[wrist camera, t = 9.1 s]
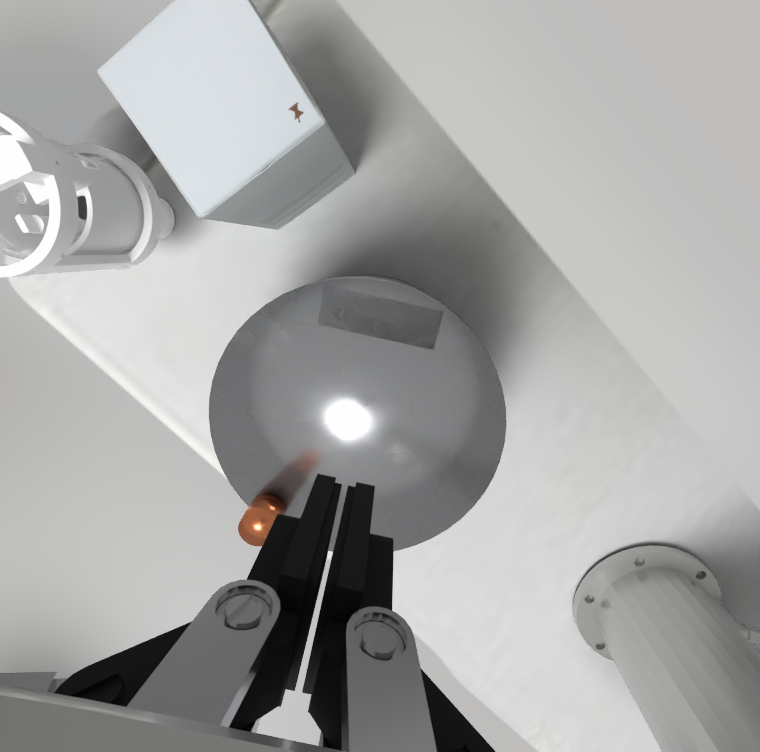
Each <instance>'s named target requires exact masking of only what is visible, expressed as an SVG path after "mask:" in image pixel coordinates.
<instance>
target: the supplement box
mask: <svg viewBox="0 0 760 752" xmlns="http://www.w3.org/2000/svg"><path fill="white" fill-rule="evenodd" d="M97 73H98V75H99V76H100V77H101V78H102V80H103V81H104V83H105V84H106V85H107V87H108V88H109V89H110V91H111V92H112V94H113V95H114V97H115V98H116V99H117V101H118V102H119V104H120V105H121V106H122V108H123V109H124V111H125V112H126V113H127V115H128V116H129V118H130V119H131V120H132V122H133V123H134V125H135V126H136V128H137V129H138V130H139V132H140V133H141V135H142V136H143V138H144V139H145V141H146V142H147V144H148V145H149V147H150V148H151V150H152V151H153V152H154V154H155V155H156V157H157V158H158V160H159V161H160V163H161V164H162V166H163V167H164V169H165V170H166V171H167V173H168V174H169V176H170V177H171V179H172V180H173V182H174V183H175V185H176V186H177V188H178V189H179V191H180V192H181V194H182V195H183V196H184V198H185V199H186V201H187V202H188V204H189V205H190V207H191V208H192V210H193V211H194V213H195V214H196V216H197V217H198V218H202V219H210V220H217V221H223V222H230V223H236V224H243V225H250V226H257V227H263V228H270V229H276V230H278V229H280V228H281V227H282V226H284V225H285V224H287V223H288V222H290V221H291V220H292V219H294V218H295V217H297V216H298V215H299V214H301V213H302V212H303V211H305V210H306V209H308V208H309V207H310V206H312V205H313V204H314V203H316V202H317V201H318V200H320V199H321V198H322V197H324V196H325V195H326V194H328V193H329V192H331V191H332V190H333V189H335V188H336V187H337V186H339V185H340V184H341V183H343V182H344V181H345V180H347V179H348V178H349V177H351V176H352V175H354V174H355V171H354V169H353V167H352V165H351V163H350V161H349V160H348V158H347V156H346V154H345V152H344V151H343V149H342V147H341V146H340V144H339V142H338V140H337V139H336V137H335V135H334V133H333V132H332V130H331V128H330V126H329V125H328V123H327V121H326V119H325V117H324V116H323V114H322V112H321V110H320V109H319V107H318V105H317V103H316V102H315V100H314V98H313V96H312V95H311V93H310V91H309V90H308V88H307V86H306V85H305V83H304V81H303V80H302V78H301V76H300V75H299V73H298V72H297V70H296V68H295V67H294V65H293V63H292V62H291V60H290V59H289V57H288V56H287V54H286V52H285V51H284V49H283V48H282V46H281V44H280V43H279V41H278V40H277V38H276V37H275V35H274V34H273V32H272V31H271V29H270V28H269V26H268V25H267V23H266V22H265V20H264V19H263V17H262V16H261V14H260V13H259V11H258V10H257V8H256V7H255V5H254V4H253V2H252V1H251V0H173V1H172V2H171V3H170V4H169V5H168V6H167V7H166V8H165V9H164V10H162V11H161V12H160V13H159V14H158V15H157V16H156V17H155V18H154V19H153V20H152V21H150V22H149V23H148V24H147V25H146V26H145V27H144V28H143V29H142V30H141V31H140V32H139V33H137V34H136V35H135V36H134V37H133V38H132V39H131V40H130V41H129V42H128V43H126V44H125V45H124V46H123V47H122V48H121V49H120V50H119V51H118V52H116V53H115V54H114V55H113V56H112V57H111V58H110V59H109V60H108V61H107V62H106V63H104V64H103V65H102V66H101V67H100V68H99V69H98V70H97Z"/></svg>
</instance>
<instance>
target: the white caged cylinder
mask: <svg viewBox="0 0 760 752" xmlns="http://www.w3.org/2000/svg"><path fill="white" fill-rule="evenodd" d="M90 157H105V158H107V159H109V160H111V161H113V162H114V163H116V164H117V165H118V166H119V167H121V168H122V169H121V168H119V167H117V166H115V165H113V164H110V163H106V162H103V161H100V160H96V159H93V158H90ZM95 169H97V170H98V171H96V170H95ZM18 191H20V192H22V194H23V195H24V204H23V205H22V204H20V203H19V202H18V201H17V192H18ZM174 225H175V217H174V213H173V210H172V208H171V207H170V205H169V204H168V203H167V202H166V201H165V200H164V199H162V198H160V197H158V195H157V193H156V190H155V188H154V186H153V184H152V183H151V181H150V180H149V178H148V177H147V175H146V174H145V173H144V172H143V170H142V169H141V168H140V167H139V166H138V165H136V164H135V163H134V162H133V161H132V160H130V159H129V158H127V157H126V156H124V155H122V154H120V153H118V152H115V151H113V150H110V149H107V148H104V147H101V146H98V145H94V144H87V143H78V144H72V145H67V144H64V143H61V142H58V141H55V140H52V139H49V138H46V137H44V136H43V135H42V134H41V133H40V132H39V131H37V130H36V129H35V128H34V127H32V126H31V125H29V124H28V123H26V122H25V121H23V120H21V119H19V118H17V117H15V116H13V115H10V114H8V113H5V112H2V111H0V241H2V242H3V243H4V244H5V245H6V246H8V247H3V248H1V249H0V251H1V252H3V253H4V254H7V255H9V256H12V257H16V258H20V259H23V260H22V261H20V262H17V263H15V264H11V265H7V264H2V263H0V277H15V276H28V275H34V274H47V273H63V272H79V271H94V270H103V271H106V270H121V269H127V268H130V267H133V266H135V265H137V264H139V263H141V262H142V261H143V260H145V259H146V258H147V257H148V256H149V255H150V254H151V252H152V251H153V250H154V248H155V246H156V244H157V242H158V240H159V239H163V238H165V237H167V236H168V235H169V234H170V233H171V232H172V230H173V228H174Z"/></svg>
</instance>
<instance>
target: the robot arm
mask: <svg viewBox="0 0 760 752" xmlns="http://www.w3.org/2000/svg"><path fill="white" fill-rule="evenodd" d="M335 481H336V477H331V476H327V475H322V474H317V476H316V479H315V481H314V484H313V487H312V489H311V492H310V495H309V497H308V500H307V502H306V505H305V508H304V510H303V513H302V516H301V518H296V517H292V516H287V515H282V514H278V515H277V517H276V518H275V520H274V523H273V525H272V527H271V529H270V531H269V533H268V535H267V537H266V540H265V542H264V544H263V546H262V548H261V550H260V552H259V554H258V557H257V559H256V561H255V563H254V565H253V567H252V569H251V571H250V573H249V576H248V578H247V580H239V581H235V582H231V583H229V584H227V585H225V586H223V587H221V588H220V589H219V590H218V591H217V592H216V593H214V594H213V595H212V597H211V598H210V599H209V601H208V602H207V603H206V604H205V606H204V607H203V608H202V610H201V611H200V612H199V613H198V615H197V616H196V617H195V619H194V620H193V621H192V622H190V623H188V624H185V625H183V626H180V627H178V628H176V629H174V630H171V631H169V632H166V633H164V634H162V635H159V636H157V637H155V638H152V639H150V640H148V641H145V642H143V643H141V644H138V645H136V646H134V647H131V648H129V649H127V650H124V651H122V652H120V653H117V654H115V655H113V656H110V657H108V658H106V659H103V660H101V661H99V662H96V663H94V664H92V665H90V666H87V667H85V668H83V669H82V670H80V671H78V672H76V673H75V674H73V675H72V676H70V677H69V678H67V679H57V672H29V673H28V672H27V673H0V752H495V751H494V749H493V748H492V747H491V746H490V745H489V744H488V743H487V742H486V741H485V739H484V738H483V737H482V736H481V735H480V734H479V733H478V732H477V731H476V729H475V728H473V726H472V725H471V724H470V723H469V722H468V721H467V719H466V718H465V717H464V716H463V715H462V714H461V713H460V712H459V711H458V709H457V708H456V707H455V706H454V705H453V704H452V703H451V702H450V700H449V699H448V698H447V697H446V696H445V695H444V694H443V693H442V692H441V690H440V689H439V688H438V687H437V686H436V685H435V684H434V683H433V682H432V681H431V679H430V678H429V677H428V676H427V675H426V674H425V673H424V672H423V670H422V669H421V668H420V664H419V659H418V654H417V649H416V644H415V639H414V635H413V633H412V630H411V628H410V626H409V625H408V624H407V622H406V621H405V620H404V619H403V618H402V617H401V616H399V615H398V614H397V613H395V612H393V611H392V587H393V545H394V543H393V538H390V537H385V536H380V535H376V534H371V533H370V528H371V519H372V509H373V500H374V491H375V486H373V485H368V484H364V483H359V482H356V486H355V487H353V486H349V485H348V488H347V493H346V497H345V502H344V506H343V511H342V515H341V520H340V524H339V528H338V533H337V537H336V542H335V546H334V551H333V555H332V560H331V564H330V569H329V573H328V577H327V582H326V586H325V591H324V596H323V600H322V605H321V609H320V614H319V618H318V623H317V628H316V632H315V637H314V641H313V646H312V650H311V655H310V659H309V665H308V669H307V673H306V678H305V683H304V687H303V691H302V692H303V693H307V694H312V695H311V700H310V705H309V710H308V712H309V713H310V714H311V716H312V717H313V719H314V720H315V722H316V723H317V725H318V727H319V728H320V730H321V734H320V739H319V746H315V745H311V744H306V743H301V742H296V741H291V740H287V739H282V738H277V737H272V736H267V735H262V734H258V733H256V731H257V728H258V725H259V721H260V718H261V717H262V716H263V715H265V714H267V713H268V712H270V711H271V710H273V709H274V708H276V707H278V706H281V704H282V700H283V696H284V692H285V689H288V690H293V691H295V687H296V683H297V679H298V675H299V671H300V666H301V662H302V658H303V654H304V650H305V645H306V641H307V637H308V633H309V629H310V625H311V621H312V617H313V613H314V608H315V604H316V600H317V596H318V592H319V588H320V584H321V580H322V575H323V571H324V567H325V562H326V558H327V553H328V548H329V544H330V539H331V534H332V530H333V525H334V520H335V516H336V511H337V506H338V502H339V497H340V492H341V488H342V484H339V483H335ZM573 614H574V618H575V622H576V625H577V627H578V629H579V631H580V634H581V636H582V637H583V639H584V640H585V641H586V643H587V644H588V645H589V646H590V647H591V648H592V649H593V650H594V651H595V652H597V653H599V654H600V655H602V656H603V657H605V658H608V659H610V660H613V661H614V662H615V664H616V665H617V667H618V669H619V671H620V673H621V675H622V677H623V679H624V681H625V682H626V684H627V686H628V688H629V690H630V692H631V694H632V696H633V698H634V700H635V701H636V703H637V705H638V707H639V709H640V711H641V713H642V715H643V717H644V719H645V720H646V722H647V724H648V726H649V728H650V730H651V732H652V734H653V736H654V738H655V739H656V741H657V743H658V745H659V747H660V749H661V751H662V752H760V650H759V649H757V648H754V647H753V646H752V645H751V644H750V643H753V644H759V645H760V629H759V628H758V627H756V626H751V625H746V624H738V623H737V622H736V621H735V620H734V619H733V618H732V617H731V615H730V614H729V613H728V612H727V611H726V610H725V609H724V608H723V607H722V593H721V589H720V586H719V584H718V581H717V579H716V578H715V577H714V575H713V574H712V573H711V571H710V570H709V569H708V568H707V567H706V566H705V565H704V564H703V563H702V562H701V561H700V560H698V559H697V558H695V557H694V556H692V555H691V554H689V553H687V552H684V551H682V550H679V549H676V548H671V547H667V546H653V545H650V546H641V547H634V548H631V549H627V550H623V551H621V552H618V553H616V554H614V555H612V556H609V557H608V558H606V559H605V560H603V561H602V562H600V563H598V564H597V565H596V566H595V567H594V568H593V569H592V570H591V571H589V572H588V574H587V575H586V576H585V578H584V579H583V580H582V581H581V583H580V585H579V587H578V589H577V591H576V594H575V598H574V602H573Z"/></svg>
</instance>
